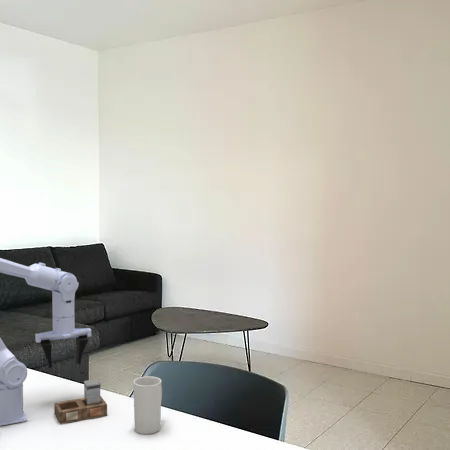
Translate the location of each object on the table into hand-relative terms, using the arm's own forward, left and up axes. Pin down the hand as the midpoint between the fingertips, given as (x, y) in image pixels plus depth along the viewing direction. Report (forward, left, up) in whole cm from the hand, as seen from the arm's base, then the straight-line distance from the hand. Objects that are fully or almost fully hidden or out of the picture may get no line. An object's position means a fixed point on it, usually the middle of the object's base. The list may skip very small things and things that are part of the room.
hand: (64, 364), depth 154 cm
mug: (+16, -25, -11) cm, 32 cm away
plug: (+5, -11, -10) cm, 16 cm away
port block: (+2, -11, -10) cm, 15 cm away
